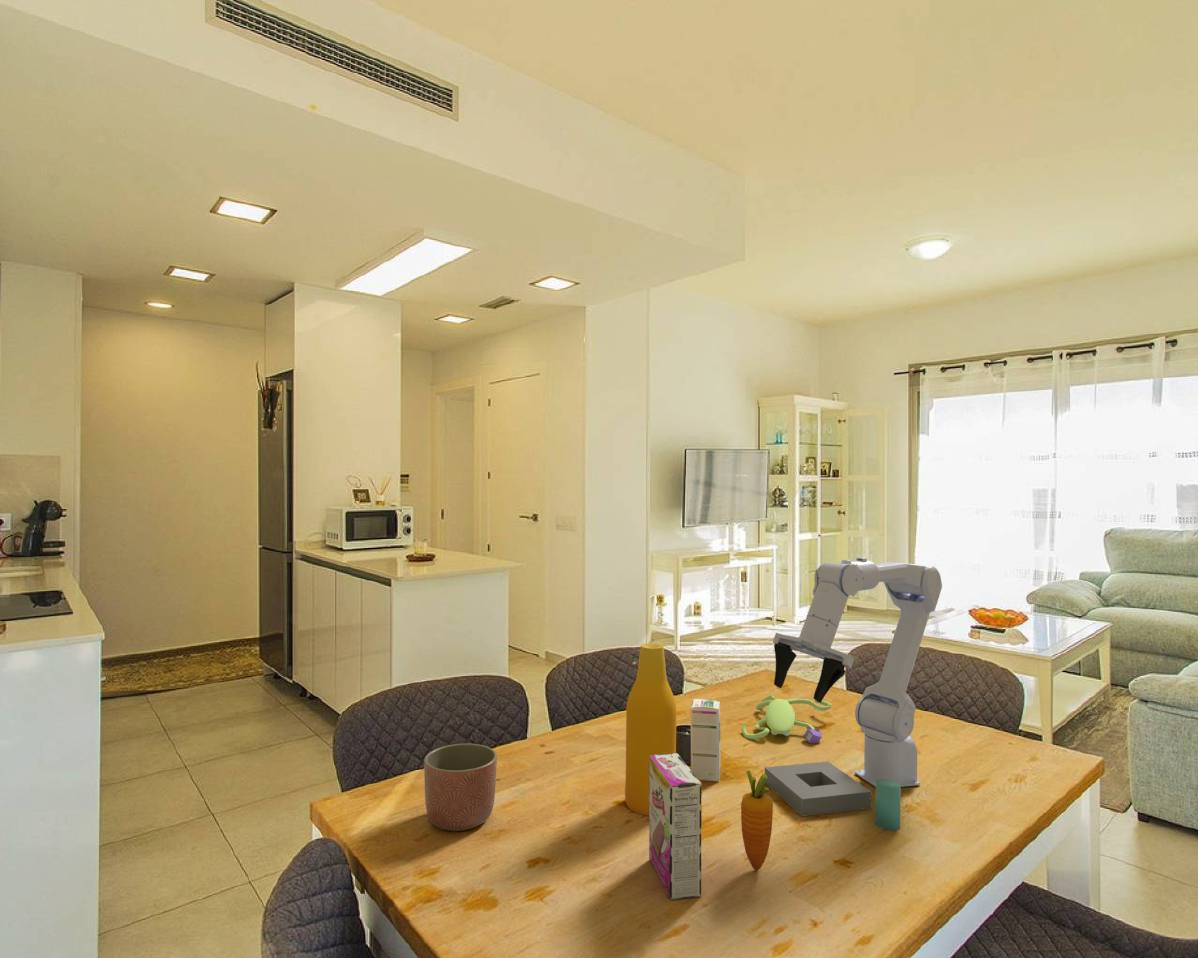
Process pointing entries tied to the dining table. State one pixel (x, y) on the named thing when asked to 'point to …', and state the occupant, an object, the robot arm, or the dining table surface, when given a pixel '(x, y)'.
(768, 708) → the figurine
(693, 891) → the candy bar box
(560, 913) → the dining table surface
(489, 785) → the planter
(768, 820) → the carrot
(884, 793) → the peg
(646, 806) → the beer bottle
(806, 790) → the socket
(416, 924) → the dining table surface
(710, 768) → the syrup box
